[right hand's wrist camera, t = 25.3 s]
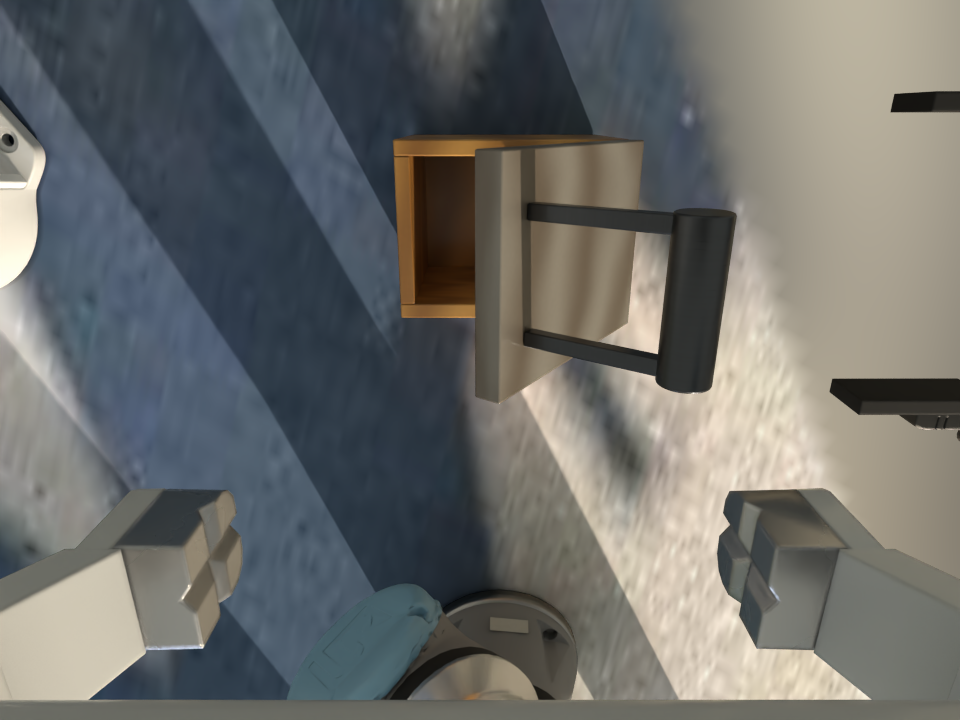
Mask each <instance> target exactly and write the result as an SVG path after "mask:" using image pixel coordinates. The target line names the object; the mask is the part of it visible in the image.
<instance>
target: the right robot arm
mask: <svg viewBox="0 0 960 720" xmlns="http://www.w3.org/2000/svg"><path fill="white" fill-rule="evenodd" d="M9 135H11V136H12V137H13V139H14V144H13V145H12V144H11V143H10V141H9ZM45 160H46V157H45V152H44V149H43V147H42V146H41V144H40V143H39V142H38V141H37V139H36V138H35V137H34V136H33V135H32V134H31V133H30V132H29V131H28V130H27V128H26V127H25V126H24V125H23V124H22V123H21V122H20V121H19V120H18V119H17V117H16V116H15V115H14V114H13V113H12V112H11V111H10V110H9V109H8V108H7V107H6V105H5V104H4V103H3V102H2V101H1V100H0V288H1V287H3V286H5V285H7V284H8V283H10V282H11V281H12V280H13V279H15V278H16V277H17V276H18V275H19V274H20V273H21V272H22V270H23V269H24V268H25V266H26V265H27V263H28V261H29V259H30V258H31V255H32V253H33V250H34V247H35V243H36V238H37V228H38V218H37V207H36V189H37V187H38V184H39V182H40V179H41V176H42V174H43V170H44V167H45ZM236 514H237V511H236V507H235V502H234V497H233V495H232V494H231V493H230V492H229V491H228V490H198V489H136V490H132V491H130V492H129V493H128V494H127V495H126V496H125V497H124V498H123V499H122V500H121V501H120V502H119V503H118V505H117V506H116V507H115V508H114V509H113V510H112V511H111V512H110V513H109V514H108V515H107V516H106V517H105V518H104V519H103V520H102V521H101V522H100V523H99V524H98V525H97V527H96V528H95V529H94V530H93V531H92V532H91V533H90V534H89V535H88V536H87V537H86V538H85V539H84V540H83V541H82V542H81V543H80V544H79V545H78V546H77V547H76V549H64V550H62V551H60V552H57V553H55V554H53V555H51V556H49V557H47V558H45V559H42V560H40V561H38V562H36V563H34V564H32V565H30V566H27V567H25V568H23V569H21V570H19V571H17V572H15V573H12V574H10V575H8V576H6V577H4V578H2V579H0V720H960V579H958V578H956V577H954V576H952V575H949V574H947V573H945V572H943V571H941V570H939V569H937V568H935V567H932V566H930V565H928V564H926V563H924V562H922V561H920V560H917V559H915V558H913V557H911V556H909V555H907V554H905V553H903V552H900V551H898V550H896V549H885V548H884V547H883V546H882V545H881V544H880V543H879V542H878V541H877V540H876V539H875V538H874V537H873V536H872V535H871V534H870V533H869V532H868V531H867V530H866V529H865V527H864V526H863V525H862V524H861V523H860V522H859V521H858V520H857V519H856V518H855V517H854V516H853V515H852V514H851V513H850V512H849V511H848V510H847V509H846V508H845V507H844V505H843V504H842V503H841V502H840V501H839V500H838V499H837V498H836V497H835V496H834V495H833V494H832V493H831V492H830V491H828V490H825V489H823V488H816V489H791V490H757V491H730V492H729V494H728V496H727V498H726V500H725V506H724V511H723V514H724V515H725V517H726V518H727V520H728V522H729V523H730V526H729V527H728V528H727V529H726V530H725V531H724V532H723V533H722V534H721V535H720V536H719V543H718V551H717V557H718V568H719V573H720V576H721V580H722V583H723V585H724V587H725V589H726V591H727V593H728V595H730V596H731V597H733V598H734V599H736V600H737V601H739V602H740V603H741V608H740V614H739V616H740V618H741V620H742V622H743V623H744V625H745V627H746V629H747V631H748V633H749V635H750V637H751V638H752V640H753V642H754V644H755V646H756V648H759V649H795V650H814V653H815V654H816V655H817V656H819V657H820V658H821V659H822V660H824V661H825V662H826V663H827V664H828V665H830V666H831V667H832V668H833V669H835V670H836V671H837V672H838V673H840V674H841V675H842V676H843V677H845V678H846V679H847V680H848V681H850V682H851V683H852V684H853V685H854V686H856V687H857V688H858V689H859V690H861V691H862V692H863V693H864V694H866V695H867V696H868V697H869V698H871V699H872V700H88V699H90V698H91V697H92V696H93V695H95V694H96V693H97V692H98V691H100V690H101V689H102V688H103V687H105V686H106V685H107V684H108V683H109V682H111V681H112V680H113V679H114V678H116V677H117V676H118V675H119V674H121V673H122V672H123V671H124V670H126V669H127V668H128V667H129V666H131V665H132V664H133V663H134V662H136V661H137V660H138V659H139V658H140V657H142V656H143V655H144V654H145V653H146V650H165V649H199V648H204V646H205V644H206V642H207V640H208V639H209V637H210V635H211V633H212V631H213V629H214V627H215V625H216V623H217V622H218V620H219V618H220V616H221V614H220V608H219V603H220V602H221V601H223V600H224V599H226V598H227V597H229V596H230V595H232V593H233V591H234V589H235V587H236V585H237V583H238V580H239V576H240V571H241V567H242V542H241V536H240V535H239V534H238V533H237V532H236V531H235V530H234V529H233V528H232V527H231V526H230V523H231V522H232V520H233V518H234V517H235V515H236Z"/></svg>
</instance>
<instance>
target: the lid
mask: <svg viewBox="0 0 960 720" xmlns="http://www.w3.org/2000/svg"><path fill="white" fill-rule="evenodd" d="M643 144H644V141H643V140H609V141H593V142H577V143H561V144H545V145H529V146H513V147H497V148H481V149H476V150H475V396H476V397H477V398H481V399H484V400H488V401H491V402H494V403H498V404H499V403H501V402H503V401H505V400H506V399H508V398H509V397H511V396H513V395H514V394H516V393H517V392H519V391H520V390H522V389H524V388H525V387H527V386H528V385H530V384H532V383H533V382H535V381H536V380H538V379H540V378H541V377H543V376H544V375H546V374H547V373H549V372H551V371H552V370H554V369H555V368H557V367H559V366H560V365H562V364H563V363H565V362H567V361H568V360H570V359H571V358H577V359H582V360H586V361H591V362H595V363H599V364H604V365H608V366H613V367H617V368H621V369H626V370H630V371H635V372H639V373H643V374H648V375H652V376H656V377H655V380H656V382H657V384H658V385H659V386H661V387H662V388H665V389H667V390H670V391H673V392H678V393H686V394H697V393H703V392H706V391H708V390H710V388H711V387H712V382H713V375H714V369H715V362H716V355H717V348H718V341H719V334H720V327H721V320H722V313H723V306H724V300H725V293H726V286H727V279H728V272H729V265H730V258H731V251H732V244H733V237H734V230H735V224H736V217H737V216H736V213H734V212H731V211H726V210H719V209H706V208H687V209H679V210H676V211H674V213H671V212H658V211H646V210H638V201H639V190H640V178H641V167H642V156H643ZM636 232H646V233H656V234H665V235H671V240H670V249H669V258H668V267H667V276H666V285H665V295H664V304H663V313H662V322H661V331H660V340H659V350H658V354H654V353H649V352H644V351H639V350H635V349H630V348H625V347H620V346H615V345H610V344H606V343H601V342H598V341H600V340H601V339H603V338H605V337H606V336H608V335H609V334H611V333H613V332H614V331H616V330H617V329H619V328H620V327H622V326H624V325H625V324H627V323H628V314H629V302H630V291H631V280H632V268H633V257H634V246H635V235H636Z"/></svg>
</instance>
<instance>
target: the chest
mask: <svg viewBox="0 0 960 720" xmlns="http://www.w3.org/2000/svg"><path fill="white" fill-rule="evenodd" d="M609 140H628V139H622V138H615V137H607V136H600V135H411V136H407V137H402V138H398V139H394V140H393V152H394V174H395V195H396V216H397V238H398V259H399V280H400V301H401V317H403V318H475V150H476V149H481V148H497V147H513V146H529V145H545V144H561V143H577V142H593V141H609Z"/></svg>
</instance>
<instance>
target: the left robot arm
mask: <svg viewBox="0 0 960 720" xmlns="http://www.w3.org/2000/svg"><path fill="white" fill-rule="evenodd" d="M891 112H960V91H936V92H919V93H902V94H894V99H893V103H892V108H891ZM830 393H831V394H833V395H834V396H835V397H837V398H838V399H839V400H840V401H842V402H843V403H844V404H846V405H847V406H848V407H849V408H851V409H852V410H853V411H855V412H856V413H857V414H858V415H900V416H901V417H903V418H904V419H905V420H907V421H908V422H910V423H911V424H912V425H914V426H916V427H918V428H921V429H924V430H934V429H936V430H942V429H945V430H958V432H957V438H958V440H959V441H960V380H959V379H832V383H831V388H830ZM577 664H578V658H577V651H576V645H575V640H574V636H573V633H572V630H571V628H570V626H569V625H568V623H567V621H566V620H565V619H564V617H563V616H562V615H561V614H560V613H559V612H558V611H557V610H556V609H554V608H553V607H552V606H550V605H549V604H547V603H546V602H544V601H542V600H540V599H538V598H536V597H533V596H530V595H527V594H524V593H519V592H514V591H504V590H495V591H484V592H479V593H474V594H471V595H468V596H465V597H462V598H460V599H458V600H456V601H454V602H452V603H451V604H449V605H447V606H446V607H445V608H443V609H442V607H441V604H440V602H439V601H438V600H434V599H433V598H432V597H431V596H430V595H429V594H428V593H427V592H426V591H425V590H424V589H423V588H421V587H420V586H417V585H414V584H397V585H393V586H390V587H387V588H384V589H382V590H380V591H378V592H376V593H374V594H373V595H371V596H370V597H368V598H366V599H364V600H363V601H361V602H360V603H358V604H357V605H356V606H354V607H353V608H352V609H351V610H349V611H348V612H347V613H346V614H345V615H343V616H342V617H341V618H340V619H339V620H338V621H337V622H336V623H335V624H334V625H333V626H332V627H331V628H330V629H329V630H328V631H327V632H326V633H325V634H324V635H323V637H322V638H321V639H320V640H319V641H318V643H317V644H316V645H315V646H314V648H313V649H312V650H311V652H310V653H309V654H308V656H307V657H306V659H305V660H304V662H303V663H302V665H301V667H300V668H299V671H298V674H297V675H296V677H295V678H294V680H293V682H292V684H291V687H290V690H289V693H288V696H287V700H571V698H572V693H573V689H574V684H575V679H576V674H577Z"/></svg>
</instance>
